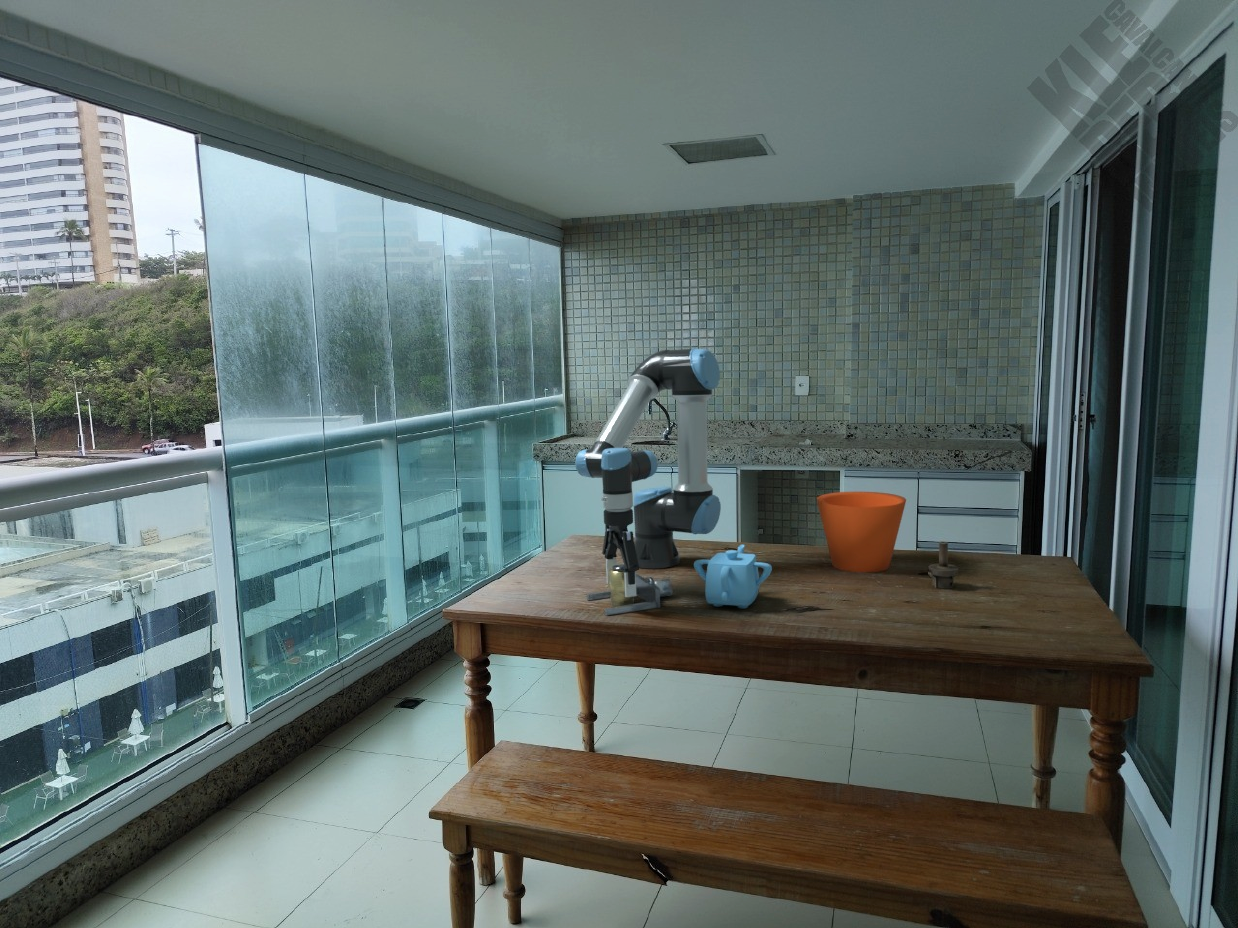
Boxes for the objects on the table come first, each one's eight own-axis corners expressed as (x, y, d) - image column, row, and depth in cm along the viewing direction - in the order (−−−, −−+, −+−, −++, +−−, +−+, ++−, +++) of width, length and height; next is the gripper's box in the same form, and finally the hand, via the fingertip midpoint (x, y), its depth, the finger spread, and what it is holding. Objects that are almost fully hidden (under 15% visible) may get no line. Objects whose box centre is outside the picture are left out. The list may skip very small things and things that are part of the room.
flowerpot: (914, 559, 246) (915, 494, 243) (892, 580, 225) (893, 509, 222) (832, 551, 259) (832, 489, 256) (804, 570, 238) (804, 503, 236)
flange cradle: (658, 588, 225) (657, 568, 225) (681, 603, 211) (681, 581, 211) (586, 599, 218) (585, 578, 218) (606, 615, 204) (605, 592, 203)
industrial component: (955, 583, 221) (956, 539, 219) (961, 590, 214) (962, 545, 212) (919, 582, 222) (919, 539, 221) (923, 590, 215) (924, 545, 214)
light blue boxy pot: (777, 607, 206) (777, 554, 204) (718, 615, 201) (717, 562, 199) (743, 588, 223) (743, 539, 221) (688, 596, 218) (687, 546, 216)
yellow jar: (628, 598, 218) (627, 562, 216) (637, 604, 212) (635, 567, 211) (607, 601, 216) (605, 565, 214) (615, 608, 210) (614, 570, 209)
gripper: (588, 502, 221) (591, 579, 223) (621, 518, 197) (625, 604, 200) (614, 499, 223) (617, 575, 226) (650, 515, 200) (653, 600, 203)
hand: (621, 589), depth 213 cm, fingers open, 13 cm apart
